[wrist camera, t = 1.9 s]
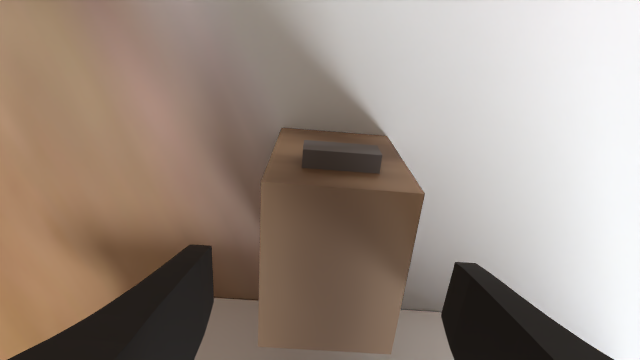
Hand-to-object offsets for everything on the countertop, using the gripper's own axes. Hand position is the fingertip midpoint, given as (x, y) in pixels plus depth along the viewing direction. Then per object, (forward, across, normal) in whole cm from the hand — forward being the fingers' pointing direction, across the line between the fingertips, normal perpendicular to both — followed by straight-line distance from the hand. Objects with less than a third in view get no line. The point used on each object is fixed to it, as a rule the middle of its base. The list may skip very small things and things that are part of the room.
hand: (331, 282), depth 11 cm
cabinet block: (+6, 0, 0) cm, 6 cm away
